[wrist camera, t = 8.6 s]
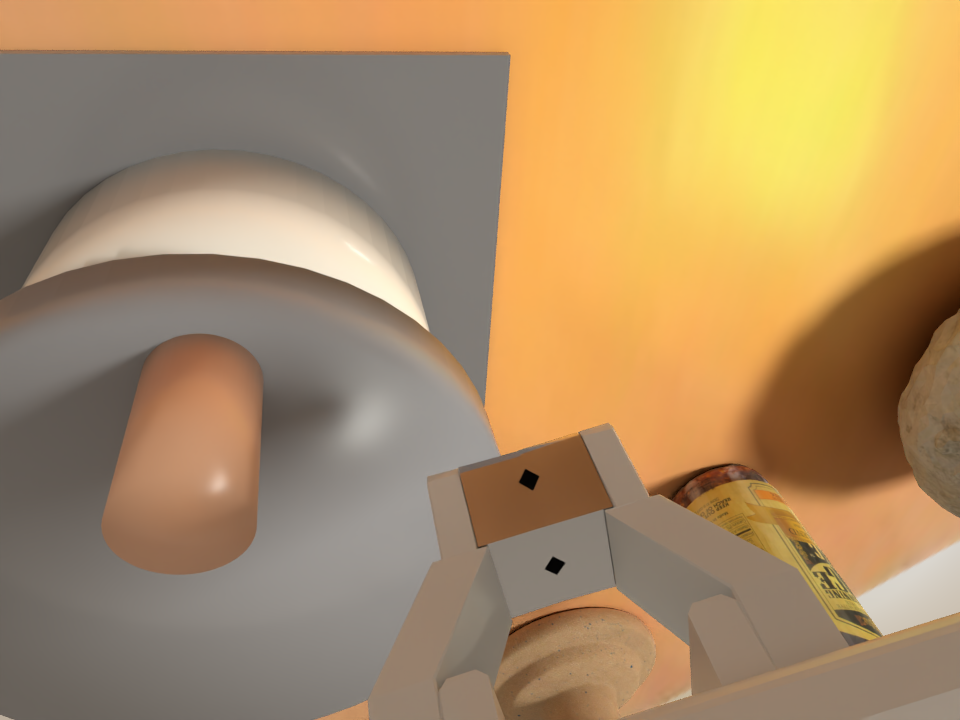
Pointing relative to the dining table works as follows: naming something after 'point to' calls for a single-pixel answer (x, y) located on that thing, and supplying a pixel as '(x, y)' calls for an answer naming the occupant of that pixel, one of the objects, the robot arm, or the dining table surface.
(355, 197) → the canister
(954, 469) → the decorative shell
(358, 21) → the dining table surface
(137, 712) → the lid
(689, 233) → the dining table surface
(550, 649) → the candle holder
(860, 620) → the sauce bottle
